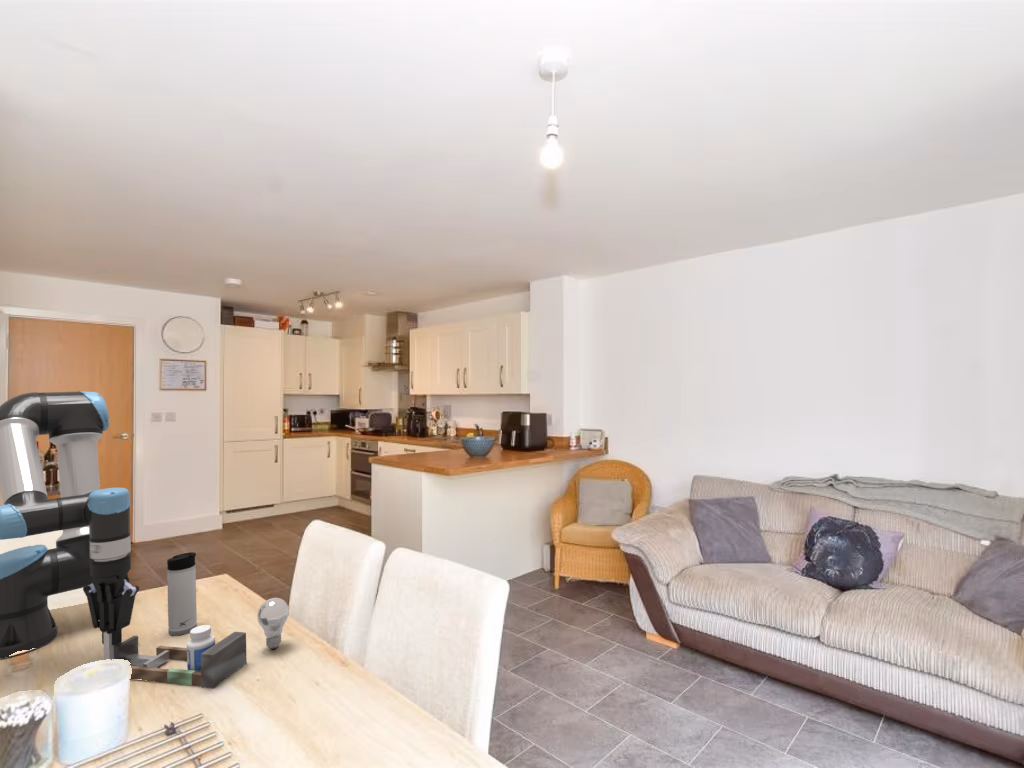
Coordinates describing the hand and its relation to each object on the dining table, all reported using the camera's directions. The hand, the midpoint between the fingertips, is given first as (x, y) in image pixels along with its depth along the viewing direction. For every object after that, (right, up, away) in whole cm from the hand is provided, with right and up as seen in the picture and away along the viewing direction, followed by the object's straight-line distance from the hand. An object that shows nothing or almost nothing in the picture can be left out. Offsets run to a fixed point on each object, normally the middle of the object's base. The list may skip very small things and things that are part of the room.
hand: (112, 657), depth 120 cm
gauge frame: (+19, -1, -4) cm, 20 cm away
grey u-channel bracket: (+8, -1, -2) cm, 8 cm away
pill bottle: (+24, -1, -5) cm, 24 cm away
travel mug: (+7, -1, +16) cm, 17 cm away
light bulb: (+35, -1, +5) cm, 35 cm away
